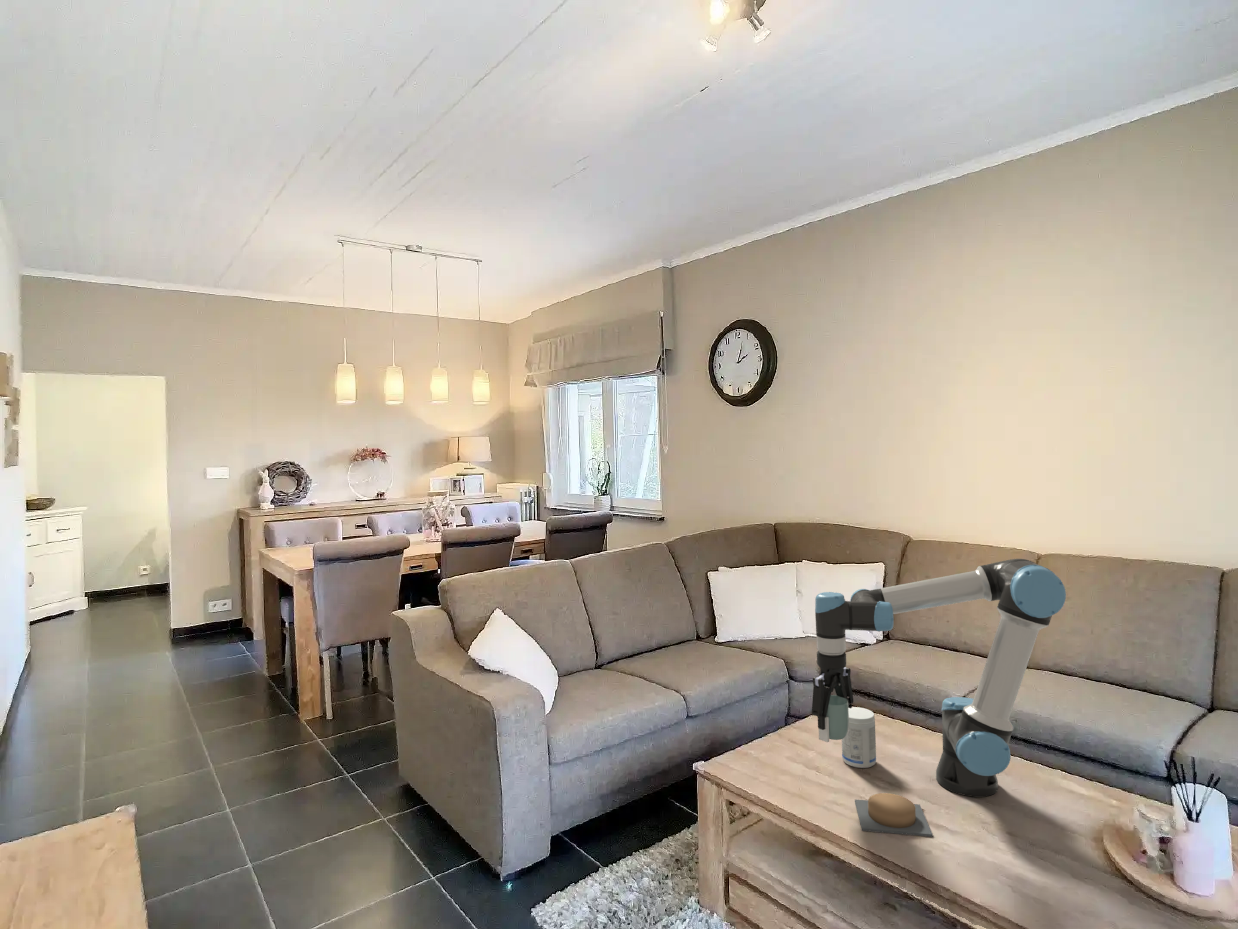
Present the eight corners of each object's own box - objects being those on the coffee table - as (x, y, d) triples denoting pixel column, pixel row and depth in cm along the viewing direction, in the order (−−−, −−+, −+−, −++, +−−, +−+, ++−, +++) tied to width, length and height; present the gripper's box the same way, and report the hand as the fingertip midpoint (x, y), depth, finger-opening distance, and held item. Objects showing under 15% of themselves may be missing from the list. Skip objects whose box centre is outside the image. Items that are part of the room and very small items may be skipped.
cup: (851, 744, 180) (850, 705, 180) (820, 742, 182) (819, 704, 181) (847, 731, 188) (846, 695, 188) (817, 730, 189) (816, 694, 189)
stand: (919, 806, 178) (919, 793, 178) (932, 837, 164) (932, 822, 164) (854, 801, 181) (854, 788, 181) (861, 830, 167) (861, 816, 167)
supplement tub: (864, 753, 209) (863, 705, 209) (883, 767, 200) (882, 716, 200) (835, 757, 207) (834, 708, 207) (852, 771, 198) (852, 720, 198)
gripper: (842, 641, 194) (844, 721, 194) (795, 656, 181) (797, 742, 181) (865, 646, 188) (868, 729, 188) (819, 662, 175) (822, 752, 175)
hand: (833, 735), depth 185 cm, fingers closed on cup, 8 cm apart
